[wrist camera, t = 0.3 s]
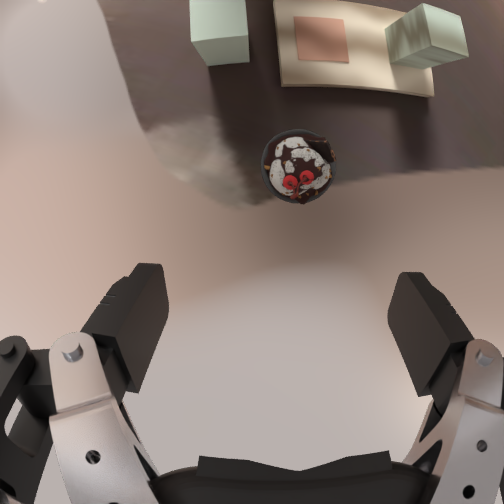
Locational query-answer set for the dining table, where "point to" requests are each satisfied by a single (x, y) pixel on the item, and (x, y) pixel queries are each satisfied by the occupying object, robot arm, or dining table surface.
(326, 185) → the sundae
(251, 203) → the dining table surface
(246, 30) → the green block
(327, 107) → the dining table surface
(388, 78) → the board
